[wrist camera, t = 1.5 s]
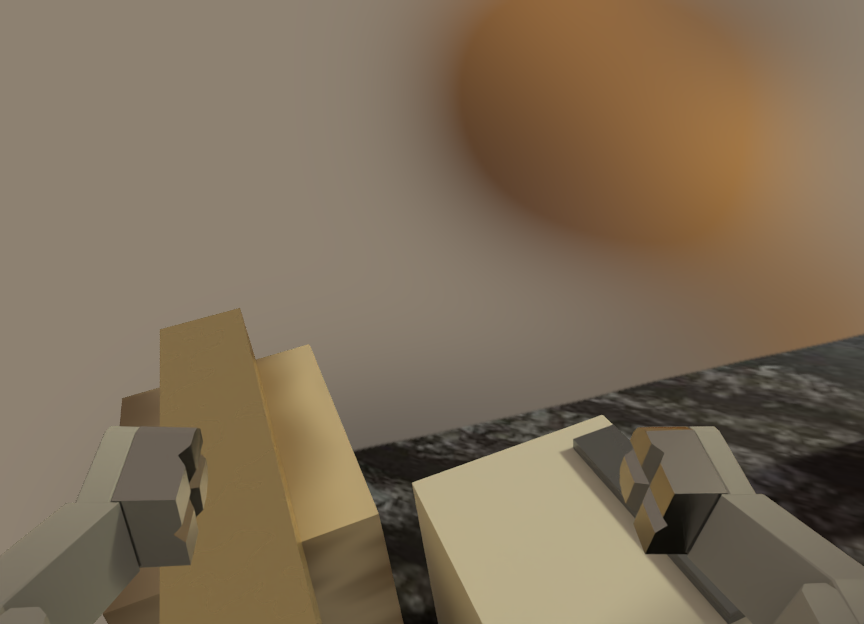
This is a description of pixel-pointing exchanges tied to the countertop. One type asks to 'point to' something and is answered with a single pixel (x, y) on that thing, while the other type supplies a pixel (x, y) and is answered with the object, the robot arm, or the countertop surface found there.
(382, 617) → the birch stand
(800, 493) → the countertop surface
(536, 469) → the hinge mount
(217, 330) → the tan wooden bar
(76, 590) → the robot arm
